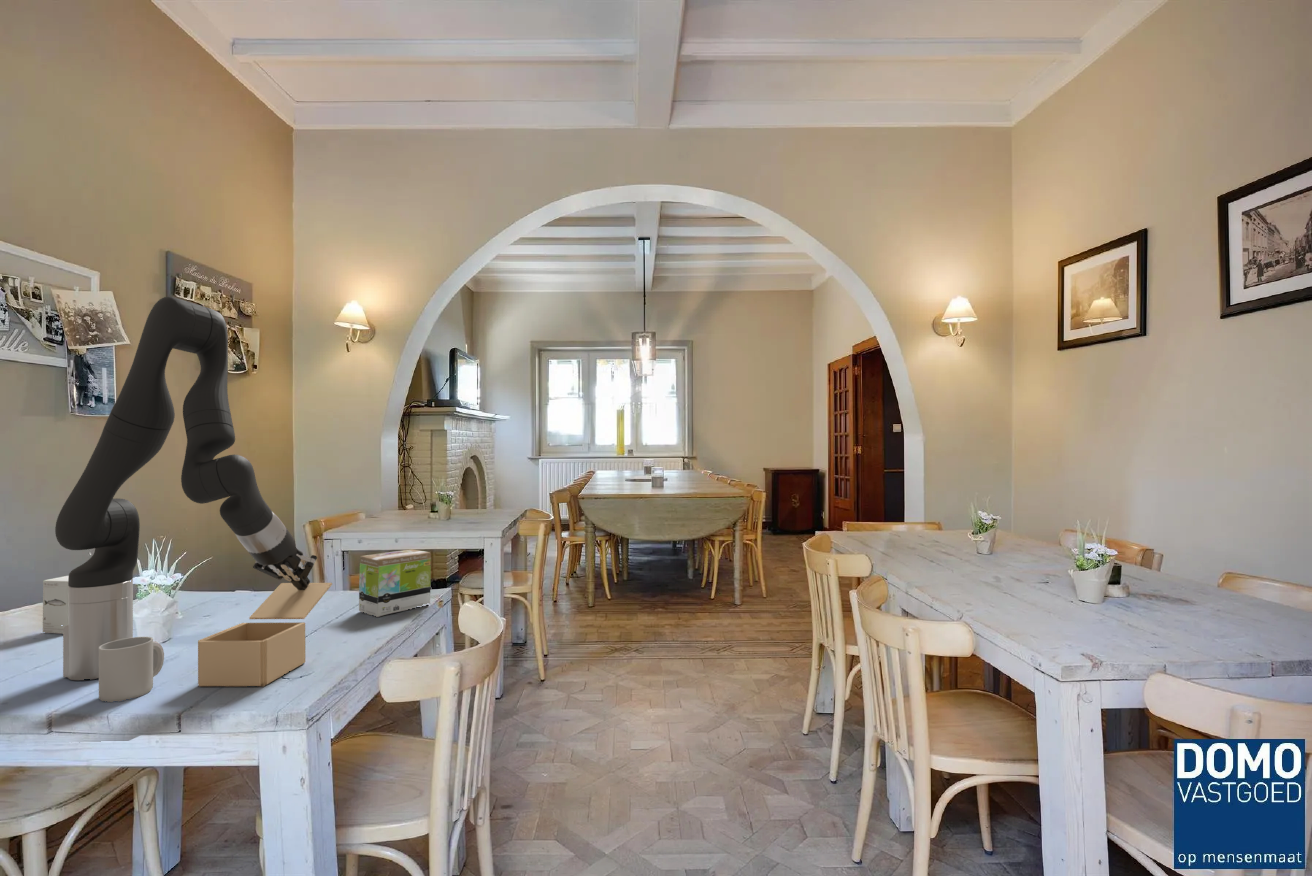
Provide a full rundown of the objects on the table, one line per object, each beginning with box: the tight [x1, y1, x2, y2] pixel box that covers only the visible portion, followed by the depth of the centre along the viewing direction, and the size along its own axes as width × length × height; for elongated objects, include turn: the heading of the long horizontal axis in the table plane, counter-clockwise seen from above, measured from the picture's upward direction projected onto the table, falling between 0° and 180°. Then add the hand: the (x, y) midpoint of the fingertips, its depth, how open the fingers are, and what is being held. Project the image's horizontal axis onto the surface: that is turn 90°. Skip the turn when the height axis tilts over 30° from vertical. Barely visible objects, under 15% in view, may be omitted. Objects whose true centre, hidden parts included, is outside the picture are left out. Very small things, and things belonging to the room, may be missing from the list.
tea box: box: [358, 548, 432, 618], centre depth 162 cm, size 15×10×15 cm
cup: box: [98, 636, 165, 703], centre depth 108 cm, size 7×10×9 cm
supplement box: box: [42, 575, 69, 634], centre depth 147 cm, size 7×7×13 cm
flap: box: [248, 582, 333, 620], centre depth 127 cm, size 11×1×11 cm
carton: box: [197, 621, 306, 688], centre depth 115 cm, size 13×12×8 cm
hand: (304, 586), depth 130 cm, fingers closed
